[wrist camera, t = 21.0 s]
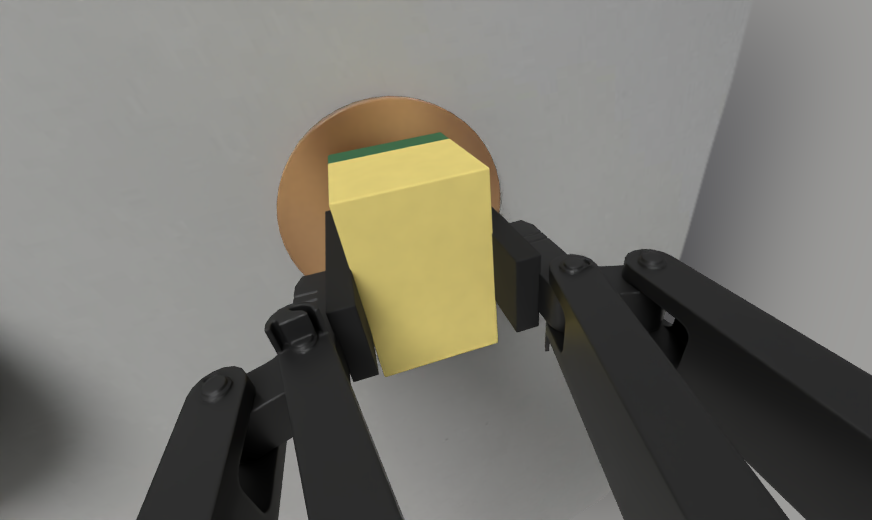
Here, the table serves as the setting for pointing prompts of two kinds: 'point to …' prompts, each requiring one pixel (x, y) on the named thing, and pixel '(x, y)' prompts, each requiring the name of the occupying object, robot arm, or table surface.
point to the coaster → (351, 130)
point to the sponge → (418, 246)
